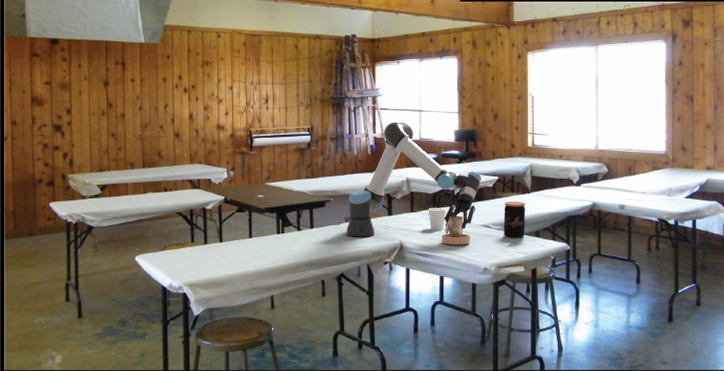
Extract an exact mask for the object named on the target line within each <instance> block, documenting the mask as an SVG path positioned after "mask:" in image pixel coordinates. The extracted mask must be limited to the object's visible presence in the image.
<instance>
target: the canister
mask: <svg viewBox="0 0 724 371" xmlns="http://www.w3.org/2000/svg"><path fill="white" fill-rule="evenodd" d="M462 221H463V216H460V215H459V216H458V215H457V216H450V217H449V232H448V234H449V237H462V234H463V232H462V233H461V235H459V233H458V229H459V227H460V224H461V222H462Z"/></svg>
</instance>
